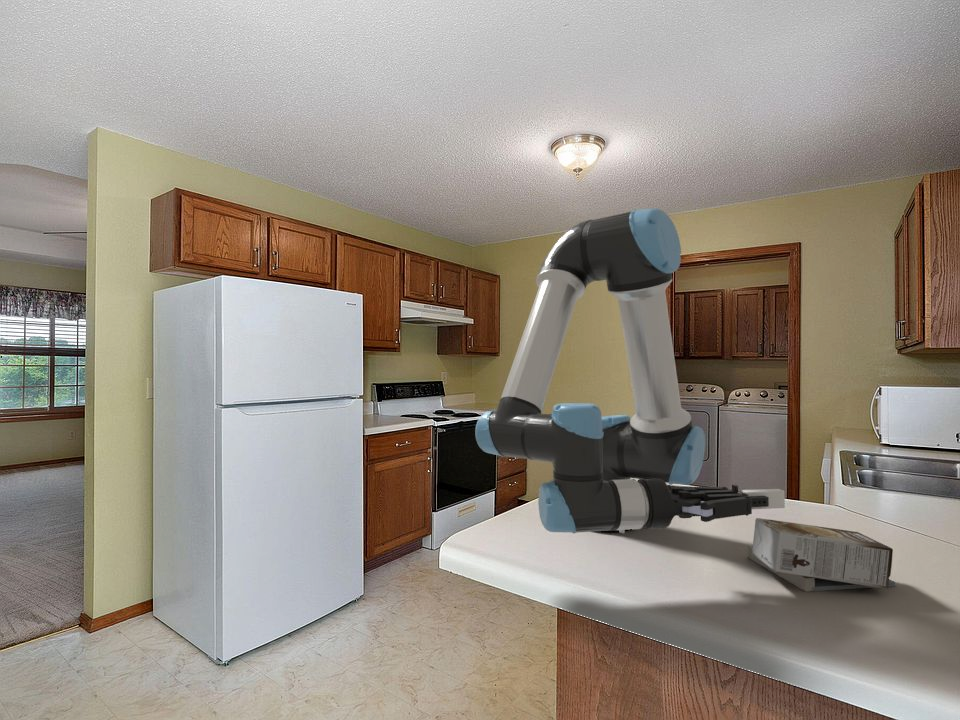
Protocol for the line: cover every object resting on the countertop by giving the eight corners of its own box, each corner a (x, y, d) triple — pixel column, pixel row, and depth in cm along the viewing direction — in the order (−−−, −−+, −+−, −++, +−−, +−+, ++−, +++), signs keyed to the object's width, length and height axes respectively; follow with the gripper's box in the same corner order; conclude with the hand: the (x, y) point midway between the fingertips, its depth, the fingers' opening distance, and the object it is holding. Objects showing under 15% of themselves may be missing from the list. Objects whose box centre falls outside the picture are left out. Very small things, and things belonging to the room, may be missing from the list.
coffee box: (754, 515, 88) (856, 530, 86) (750, 553, 88) (852, 569, 86) (780, 531, 79) (894, 548, 77) (775, 574, 79) (889, 591, 77)
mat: (748, 557, 93) (748, 546, 93) (825, 553, 95) (825, 542, 95) (805, 591, 79) (805, 578, 79) (895, 586, 81) (895, 573, 81)
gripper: (623, 516, 88) (756, 510, 90) (658, 542, 75) (811, 534, 77) (623, 471, 88) (755, 466, 90) (657, 489, 75) (810, 483, 77)
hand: (781, 498), depth 84 cm, fingers closed
